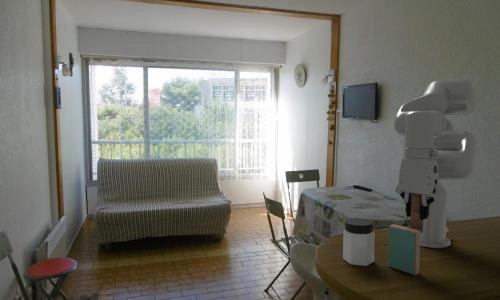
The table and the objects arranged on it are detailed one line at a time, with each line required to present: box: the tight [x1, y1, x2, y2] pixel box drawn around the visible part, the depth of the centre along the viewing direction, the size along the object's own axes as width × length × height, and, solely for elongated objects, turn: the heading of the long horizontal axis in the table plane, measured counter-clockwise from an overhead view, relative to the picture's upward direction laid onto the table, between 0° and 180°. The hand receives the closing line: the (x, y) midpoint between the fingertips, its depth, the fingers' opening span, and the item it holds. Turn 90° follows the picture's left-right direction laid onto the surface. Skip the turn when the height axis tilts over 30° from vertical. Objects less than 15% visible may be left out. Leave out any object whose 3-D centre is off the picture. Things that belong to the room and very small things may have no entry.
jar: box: [342, 217, 376, 267], centre depth 108 cm, size 9×8×12 cm
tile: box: [387, 223, 421, 276], centre depth 101 cm, size 2×8×12 cm, turn 38°
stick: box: [409, 193, 423, 233], centre depth 104 cm, size 3×3×12 cm
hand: (416, 216), depth 104 cm, fingers closed on stick, 3 cm apart
